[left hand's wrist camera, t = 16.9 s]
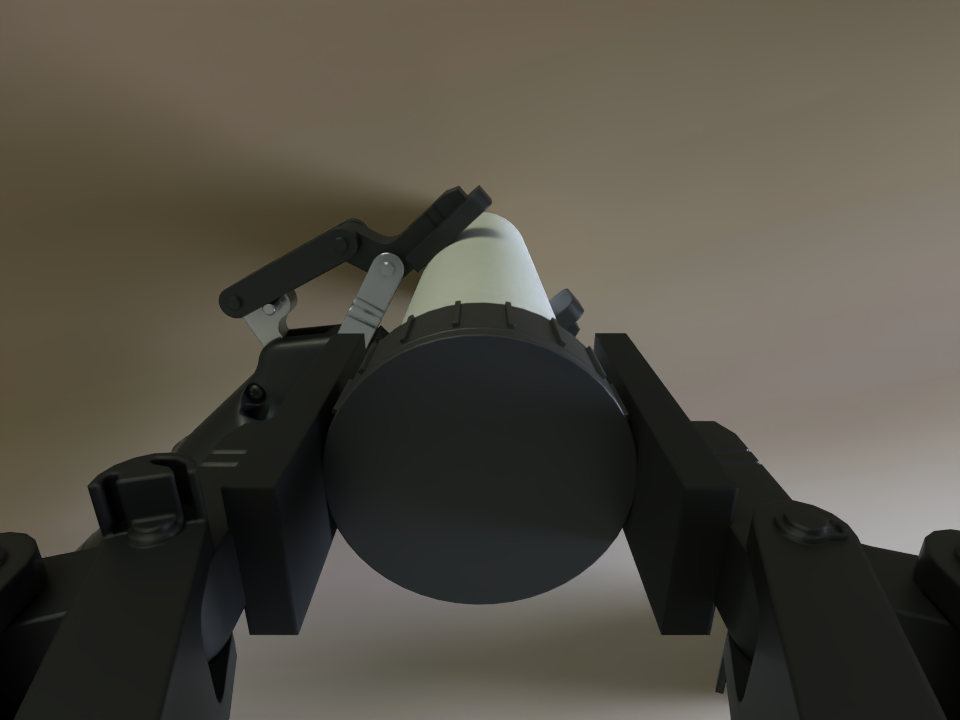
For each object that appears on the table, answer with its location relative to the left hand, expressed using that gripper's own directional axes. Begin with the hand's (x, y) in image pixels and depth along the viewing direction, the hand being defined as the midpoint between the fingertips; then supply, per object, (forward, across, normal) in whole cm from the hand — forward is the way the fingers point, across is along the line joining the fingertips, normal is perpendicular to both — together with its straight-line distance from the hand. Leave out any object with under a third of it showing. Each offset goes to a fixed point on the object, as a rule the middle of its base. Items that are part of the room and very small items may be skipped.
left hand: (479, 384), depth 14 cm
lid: (-4, 0, 0) cm, 4 cm away
